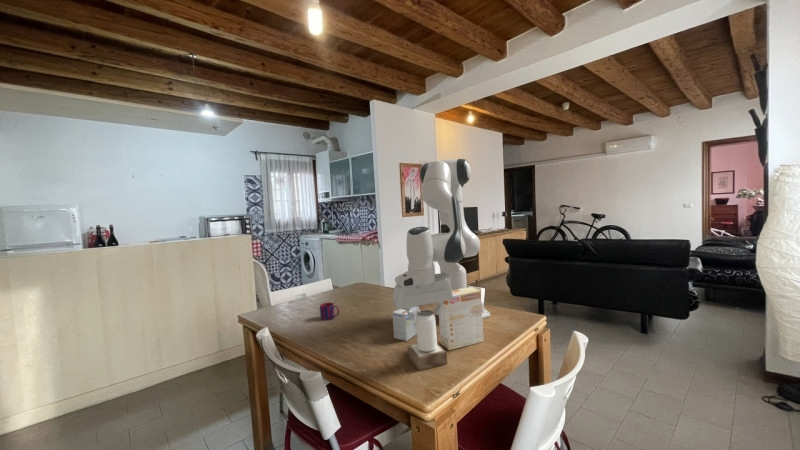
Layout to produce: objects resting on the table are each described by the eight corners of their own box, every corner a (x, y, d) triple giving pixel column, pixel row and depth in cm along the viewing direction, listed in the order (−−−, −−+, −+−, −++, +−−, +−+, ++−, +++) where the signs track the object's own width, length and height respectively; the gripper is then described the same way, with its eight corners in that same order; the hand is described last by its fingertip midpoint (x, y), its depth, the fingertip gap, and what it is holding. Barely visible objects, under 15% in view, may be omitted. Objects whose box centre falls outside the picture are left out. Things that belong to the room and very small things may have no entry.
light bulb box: (408, 328, 132) (406, 304, 131) (421, 331, 128) (419, 306, 127) (393, 338, 123) (391, 311, 123) (407, 341, 119) (405, 314, 119)
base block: (434, 351, 110) (433, 339, 109) (447, 363, 100) (446, 351, 100) (408, 356, 107) (407, 344, 106) (418, 370, 97) (417, 357, 97)
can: (436, 353, 99) (434, 316, 98) (416, 352, 100) (414, 316, 100) (438, 344, 105) (435, 309, 105) (419, 343, 107) (417, 309, 106)
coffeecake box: (473, 335, 121) (470, 286, 120) (484, 342, 114) (481, 290, 113) (439, 343, 116) (436, 292, 115) (449, 350, 109) (445, 296, 108)
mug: (327, 315, 157) (326, 302, 156) (342, 317, 152) (341, 303, 152) (317, 319, 151) (316, 306, 151) (333, 322, 146) (332, 308, 146)
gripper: (445, 270, 108) (448, 308, 109) (390, 278, 102) (393, 319, 103) (454, 273, 102) (457, 314, 103) (395, 282, 96) (399, 325, 97)
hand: (424, 316), depth 103 cm, fingers open, 8 cm apart
